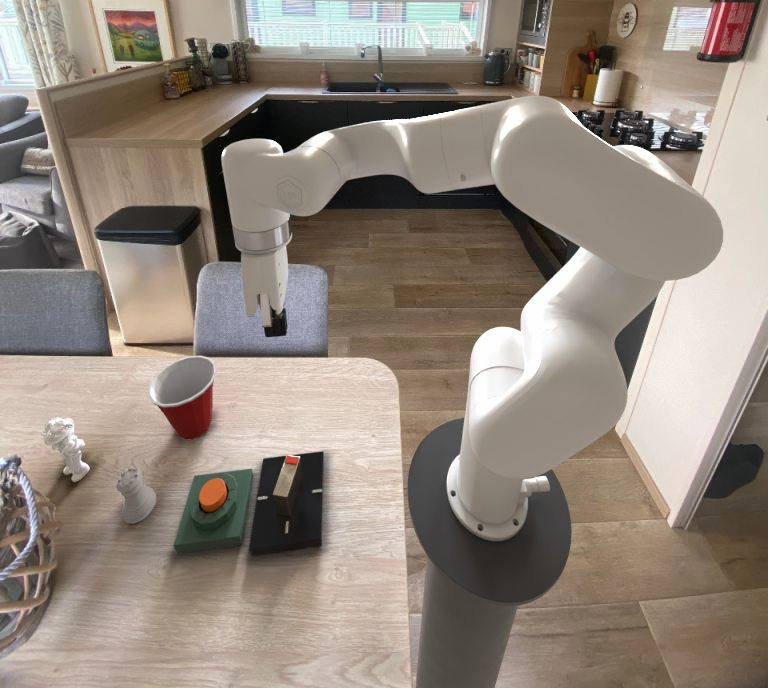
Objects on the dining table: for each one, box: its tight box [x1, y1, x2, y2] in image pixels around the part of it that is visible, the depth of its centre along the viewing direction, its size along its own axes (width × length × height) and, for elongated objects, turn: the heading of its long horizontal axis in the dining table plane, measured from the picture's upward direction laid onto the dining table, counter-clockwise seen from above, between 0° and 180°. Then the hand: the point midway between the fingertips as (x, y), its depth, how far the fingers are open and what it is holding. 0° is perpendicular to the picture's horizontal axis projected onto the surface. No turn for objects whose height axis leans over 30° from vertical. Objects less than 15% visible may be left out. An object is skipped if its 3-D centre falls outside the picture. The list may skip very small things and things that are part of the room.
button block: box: [173, 468, 255, 555], centre depth 59 cm, size 9×9×4 cm
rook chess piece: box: [115, 466, 157, 524], centre depth 58 cm, size 4×4×8 cm
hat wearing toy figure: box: [41, 417, 90, 483], centre depth 63 cm, size 9×4×12 cm, turn 60°
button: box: [199, 478, 227, 513], centre depth 58 cm, size 4×4×2 cm
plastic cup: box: [147, 355, 217, 441], centre depth 70 cm, size 11×11×12 cm
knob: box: [273, 454, 302, 517], centre depth 59 cm, size 6×2×5 cm, turn 172°
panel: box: [248, 450, 325, 557], centre depth 60 cm, size 10×12×2 cm
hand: (276, 332), depth 60 cm, fingers closed
